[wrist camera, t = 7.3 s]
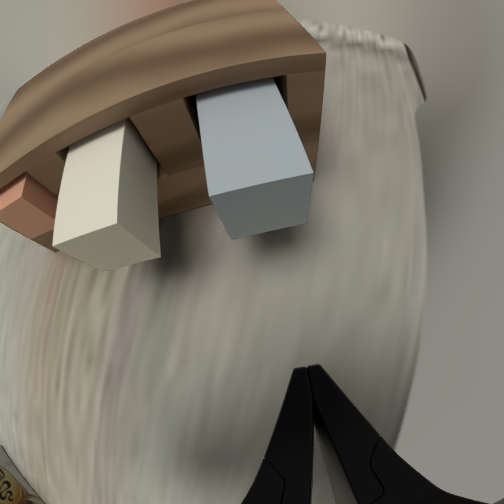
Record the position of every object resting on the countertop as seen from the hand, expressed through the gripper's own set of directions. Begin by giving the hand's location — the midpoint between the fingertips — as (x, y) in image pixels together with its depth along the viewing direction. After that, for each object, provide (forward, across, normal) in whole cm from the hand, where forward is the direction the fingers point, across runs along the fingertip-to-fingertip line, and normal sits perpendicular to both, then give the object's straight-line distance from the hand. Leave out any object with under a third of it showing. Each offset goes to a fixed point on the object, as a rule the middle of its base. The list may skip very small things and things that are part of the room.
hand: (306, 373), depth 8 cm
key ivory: (+8, +8, -4) cm, 12 cm away
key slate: (+8, +1, -5) cm, 9 cm away
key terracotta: (+10, +15, -7) cm, 19 cm away
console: (+17, +8, -7) cm, 20 cm away
